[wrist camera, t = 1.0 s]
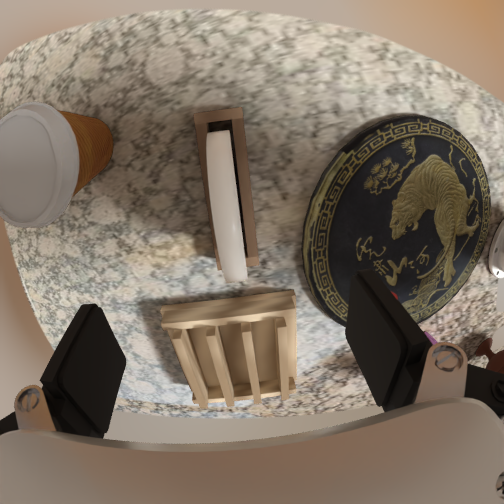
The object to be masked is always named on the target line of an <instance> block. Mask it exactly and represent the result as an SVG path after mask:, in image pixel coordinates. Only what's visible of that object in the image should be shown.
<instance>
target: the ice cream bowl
mask: <svg viewBox="0 0 504 504" xmlns="http://www.w3.org/2000/svg"><path fill="white" fill-rule="evenodd" d="M491 345H492V338H488V339H486V340H485V341H484V342H483V343H482V344H481V345H480V346H479V347H478V349H477V351H476V356H479V357H480V356H483V355H486V356H487V357H488V359H489V362H488V364H487V366H486V369H488V370H491V371H495V372H499V373H502V374H504V350H502V351H499V352H498V353H496V354H494V353H493V352H492V351H491V349H490V348H491Z"/></svg>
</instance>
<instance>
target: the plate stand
mask: <svg viewBox="0 0 504 504" xmlns="http://www.w3.org/2000/svg"><path fill="white" fill-rule="evenodd" d="M223 120H232V129H233V137H234V146H235V154H236V162H237V171H238V179H239V187H240V196H241V204H242V212H243V220H244V229H245V237H246V245H247V247H244V252H245V260H246V267H249V266H257V265H259V258H258V249H257V239H256V230H255V221H254V211H253V202H252V193H251V183H250V174H249V165H248V156H247V147H246V138H245V129H244V120H243V111H242V107H238V108H229V109H221V110H214V111H207V112H201V113H195V114H194V122H195V130H196V137H197V144H198V151H199V158H200V165H201V172H202V178H203V185H204V191H205V198H206V204H207V210H208V216H209V222H210V228H211V234H212V240H213V246H214V251H215V257H216V262H217V268H218V270H222V267H221V263H220V258H219V253H218V248H217V243H216V237H215V231H214V224H213V218H212V211H211V203H210V194H209V183H208V172H207V154H206V141H207V134H208V133H210V132H209V125H208V123H209V122H216V121H223Z"/></svg>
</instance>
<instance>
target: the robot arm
mask: <svg viewBox="0 0 504 504" xmlns="http://www.w3.org/2000/svg"><path fill="white" fill-rule="evenodd" d="M489 269H490V272H491V273H492V274H493V275H494V276H495V277H497V278H503V277H504V219H503V221H502V222H501V224H500V225H499V227H498V229H497V231H496V233H495V235H494V238H493V241H492V244H491V248H490V252H489ZM345 335H346V339H347V341H348V343H349V346H350V348H351V350H352V352H353V354H354V356H355V358H356V360H357V362H358V365H359V367H360V369H361V371H362V373H363V375H364V378H365V380H366V382H367V384H368V386H369V388H370V391H371V393H372V395H373V397H374V400H375V402H376V404H377V405H378V406H379V407H380V406H382V407H383V410H384V413H381V414H378V415H375V416H371V417H368V418H364V419H360V420H357V421H353V422H349V423H344V424H340V425H336V426H332V427H328V428H323V429H319V430H314V431H309V432H303V433H298V434H292V435H286V436H279V437H273V438H265V439H257V440H247V441H238V442H237V441H236V442H222V443H202V444H201V443H200V444H166V443H142V442H129V441H118V440H109V439H103V437H104V433H107V431H108V429H109V424H110V420H111V416H112V412H113V409H114V405H115V401H116V398H117V394H118V390H119V387H120V383H121V380H122V376H123V373H124V370H125V366H126V358H125V355H124V353H123V352H122V350H121V348H120V346H119V344H118V342H117V340H116V338H115V336H114V334H113V332H112V330H111V327H110V325H109V323H108V321H107V319H106V317H105V315H104V312H103V310H102V308H101V307H98V306H97V305H96V304H83V305H81V307H80V308H79V310H78V312H77V313H76V315H75V316H74V318H73V320H72V322H71V323H70V325H69V327H68V328H67V330H66V332H65V334H64V335H63V337H62V339H61V341H60V343H59V344H58V346H57V348H56V350H55V352H54V354H53V356H52V357H51V359H50V361H49V363H48V365H47V367H46V369H45V371H44V373H43V375H42V377H41V379H40V381H41V383H42V384H43V387H42V388H40V387H39V386H37V385H29V386H27V387H25V388H23V389H22V390H21V391H20V392H19V393H18V395H17V396H16V398H15V402H14V408H15V412H13V413H11V414H10V415H8V416H6V417H5V418H3V419H2V420H0V504H504V374H502V373H499V372H495V371H491V370H488V369H484V368H481V367H477V366H474V365H471V364H468V361H467V356H466V354H465V352H464V351H463V350H462V349H461V348H460V347H459V346H457V345H456V344H453V343H450V342H439V343H436V344H434V345H432V343H431V342H430V341H429V339H428V338H427V337H426V335H425V334H424V333H423V331H422V330H421V329H420V327H419V326H418V325H417V323H416V322H415V321H414V319H413V318H412V317H411V315H410V314H409V313H408V312H407V310H406V309H405V308H404V306H403V305H402V304H401V303H400V302H399V301H398V300H397V299H396V298H395V296H394V295H393V294H392V293H391V291H390V290H389V289H388V288H387V286H386V285H385V284H384V283H383V282H382V280H381V279H380V278H379V277H378V275H377V274H376V273H375V272H374V271H373V270H372V269H365V270H359V271H356V273H355V275H353V276H352V277H351V282H350V293H349V303H348V313H347V321H346V329H345Z"/></svg>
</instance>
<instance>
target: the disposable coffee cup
mask: <svg viewBox="0 0 504 504" xmlns="http://www.w3.org/2000/svg"><path fill="white" fill-rule="evenodd" d="M112 153H113V138H112V134H111V132H110V130H109V128H108V127H107V125H106V124H105V123H103V122H102V121H101V120H99V119H96V118H92V117H87V116H82V115H78V114H73V113H69V112H63V111H58V110H56V109H55V108H54V107H52V106H50V105H48V104H46V103H41V102H28V103H24V104H22V105H19V106H17V107H16V108H14V109H13V110H12V111H10V112H9V113H8V114H7V115H5V116H4V117H3V118H2V119H0V216H1V217H2V218H3V219H4V220H5V221H6V222H8V223H9V224H11V225H14V226H16V227H21V228H29V227H30V228H40V227H43V226H46V225H49V224H50V223H52V222H53V221H55V220H56V219H57V218H58V217H59V216H60V215H61V214H62V213H63V212H64V211H65V209H66V208H67V206H68V204H69V203H70V201H71V199H72V197H73V196H74V195H75V194H76V193H77V192H78V191H80V190H81V189H82V188H83V187H84V186H85V185H86V184H87V183H88V182H89V181H91V180H92V179H93V178H94V177H95V176H96V175H97V174H98V173H99V172H101V171H102V170H103V169H104V168H105V167H106V166H107V164H108V163H109V161H110V159H111V156H112Z"/></svg>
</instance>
